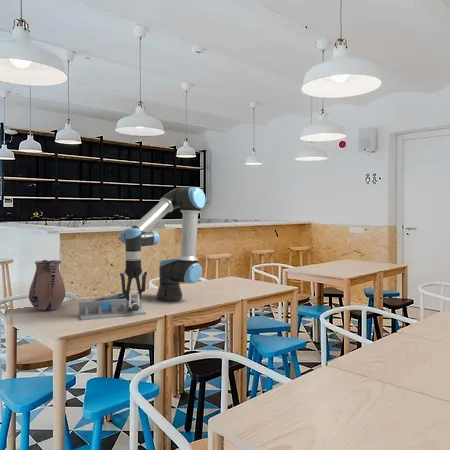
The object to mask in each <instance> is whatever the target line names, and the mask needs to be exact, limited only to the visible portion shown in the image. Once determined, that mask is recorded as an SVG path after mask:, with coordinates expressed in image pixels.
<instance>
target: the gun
mask: <svg viewBox="0 0 450 450" xmlns="http://www.w3.org/2000/svg"><path fill="white" fill-rule="evenodd" d="M115 299H126V294H125V293H123V292H121V293H117V294H114V295H110V296H106V297H102V298H101V297H100V298H98V299H95V300H93V301H102V300H115Z"/></svg>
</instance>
